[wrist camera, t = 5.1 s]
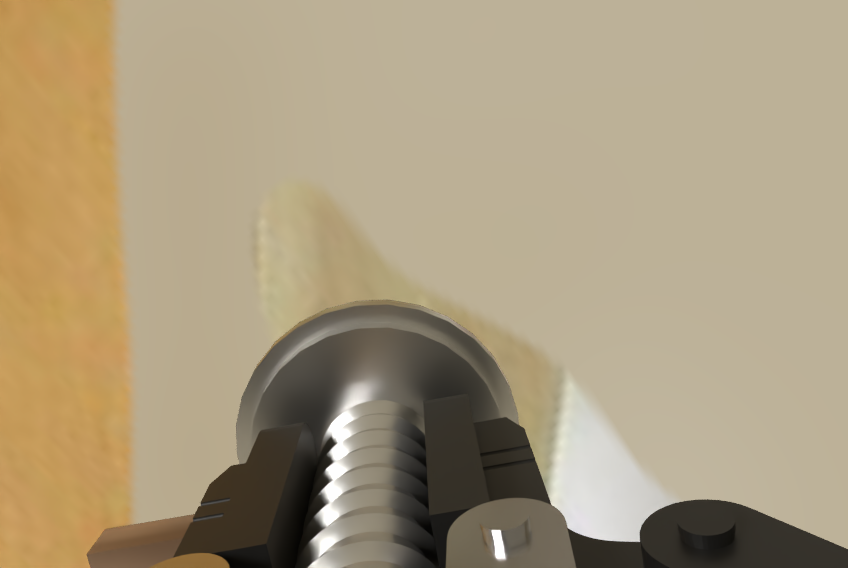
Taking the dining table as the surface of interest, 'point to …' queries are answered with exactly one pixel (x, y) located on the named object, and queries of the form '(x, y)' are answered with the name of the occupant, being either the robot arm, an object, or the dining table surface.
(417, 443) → the screw
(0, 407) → the dining table surface
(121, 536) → the walnut board
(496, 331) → the dining table surface
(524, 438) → the robot arm
